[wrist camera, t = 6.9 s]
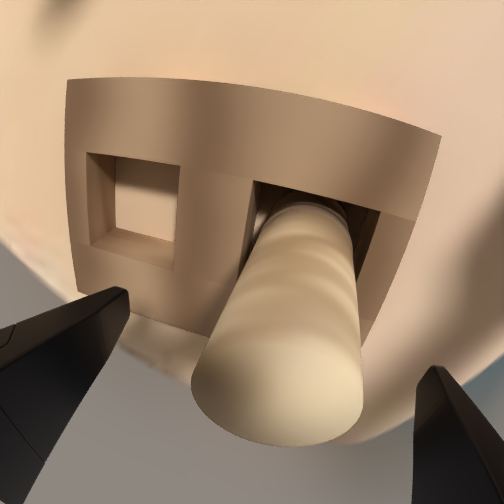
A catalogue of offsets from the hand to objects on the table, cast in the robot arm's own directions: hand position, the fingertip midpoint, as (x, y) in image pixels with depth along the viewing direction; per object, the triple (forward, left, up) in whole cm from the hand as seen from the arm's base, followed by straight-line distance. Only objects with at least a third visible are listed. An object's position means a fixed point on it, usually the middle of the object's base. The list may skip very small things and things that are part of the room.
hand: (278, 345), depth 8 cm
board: (+4, 0, -8) cm, 9 cm away
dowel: (0, 0, -8) cm, 8 cm away
